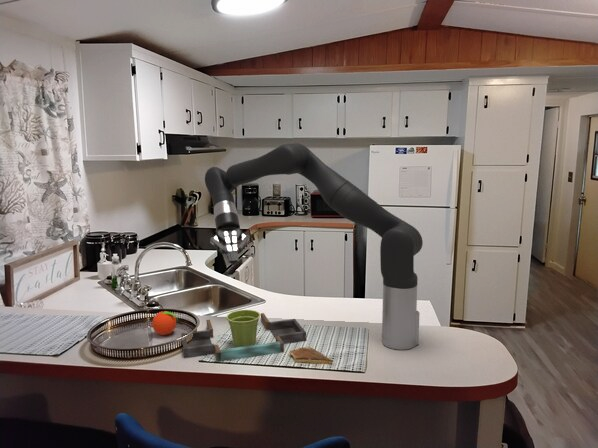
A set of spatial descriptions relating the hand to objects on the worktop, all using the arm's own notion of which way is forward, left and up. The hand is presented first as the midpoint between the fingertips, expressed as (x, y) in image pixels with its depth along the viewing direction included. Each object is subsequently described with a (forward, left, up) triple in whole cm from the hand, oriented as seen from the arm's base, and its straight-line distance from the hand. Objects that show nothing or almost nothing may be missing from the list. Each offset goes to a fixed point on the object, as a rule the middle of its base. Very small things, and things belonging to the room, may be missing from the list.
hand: (234, 263), depth 140 cm
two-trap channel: (0, +11, -20) cm, 23 cm away
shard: (-15, +28, -21) cm, 38 cm away
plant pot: (0, +15, -20) cm, 25 cm away
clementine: (+21, 0, -20) cm, 29 cm away
